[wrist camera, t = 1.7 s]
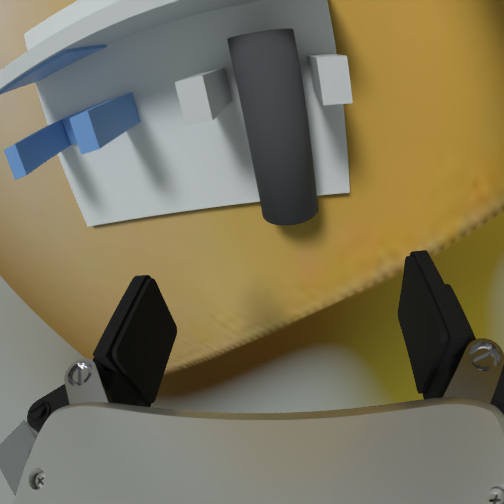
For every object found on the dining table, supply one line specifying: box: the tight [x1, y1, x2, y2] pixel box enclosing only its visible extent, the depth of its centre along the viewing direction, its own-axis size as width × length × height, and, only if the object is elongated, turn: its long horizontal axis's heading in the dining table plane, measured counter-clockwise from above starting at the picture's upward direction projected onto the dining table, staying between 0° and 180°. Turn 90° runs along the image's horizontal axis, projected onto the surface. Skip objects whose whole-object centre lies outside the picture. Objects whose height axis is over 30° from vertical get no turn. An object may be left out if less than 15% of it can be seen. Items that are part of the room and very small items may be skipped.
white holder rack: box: [0, 0, 353, 227], centre depth 14 cm, size 16×19×6 cm
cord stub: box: [227, 28, 318, 225], centre depth 16 cm, size 10×3×3 cm, turn 10°
